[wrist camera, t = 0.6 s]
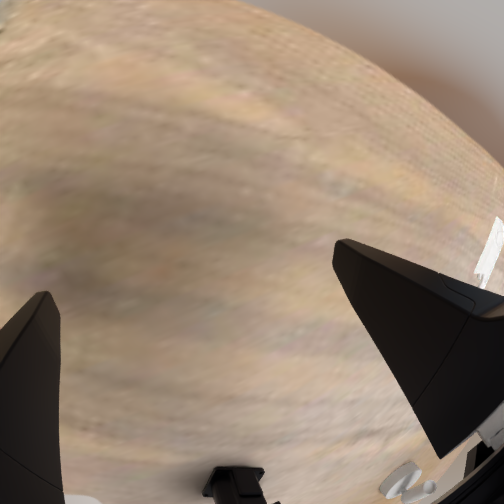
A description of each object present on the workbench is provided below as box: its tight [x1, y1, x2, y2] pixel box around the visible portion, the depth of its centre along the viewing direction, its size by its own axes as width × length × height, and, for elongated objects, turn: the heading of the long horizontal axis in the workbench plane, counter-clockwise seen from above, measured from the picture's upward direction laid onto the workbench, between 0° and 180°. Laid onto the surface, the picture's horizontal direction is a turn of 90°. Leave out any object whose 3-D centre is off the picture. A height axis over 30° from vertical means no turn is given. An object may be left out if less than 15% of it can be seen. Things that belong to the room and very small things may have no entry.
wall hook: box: [380, 462, 437, 504], centre depth 39 cm, size 9×10×10 cm
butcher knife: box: [474, 217, 504, 289], centre depth 36 cm, size 5×15×1 cm, turn 146°
